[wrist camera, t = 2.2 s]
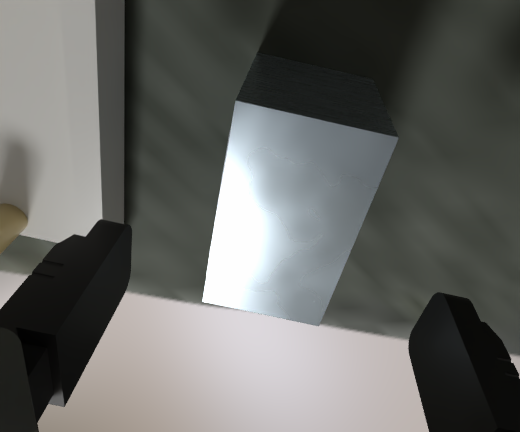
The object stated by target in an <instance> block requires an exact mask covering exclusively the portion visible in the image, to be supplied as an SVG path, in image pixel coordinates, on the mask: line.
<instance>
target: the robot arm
mask: <svg viewBox="0 0 520 432" xmlns="http://www.w3.org/2000/svg"><path fill="white" fill-rule="evenodd" d="M131 246H132V229H131V226H130V225H126V224H122V223H117V222H112V221H108V220H103V219H100V220H99V221H97V223H96V224H95V225H94V226H93V228H92V229H91V230H90V232H89V233H88V234H87V235H86V237H85V236H81V235H76V234H74V235H72V236H70V237H68V238H67V239H65V240H63V241H61V242H60V243H58V244H56V245H55V246H54V247H53V248H52V249H51V251H50V252H49V253H48V254H47V255H46V256H45V258H44V259H43V261H42V263H39V265H38V266H37V267H36V268H35V269H34V270H33V272H32V275H29V276H28V278H27V279H26V280H25V281H24V283H22V285H21V286H20V287H19V288H18V289H17V290H16V292H15V293H14V294H13V295H12V296H11V297H10V299H9V300H8V301H7V302H6V303H5V304H4V306H3V307H2V308H1V309H0V432H39V430H38V425H37V423H38V421H39V419H40V417H41V415H42V414H43V412H44V410H45V409H46V407H47V405H48V404H52V405H58V406H62V407H65V405H66V403H67V401H68V399H69V398H70V396H71V394H72V392H73V390H74V388H75V386H76V384H77V382H78V381H79V379H80V377H81V375H82V373H83V371H84V369H85V367H86V365H87V364H88V362H89V359H90V358H91V356H92V354H93V352H94V350H95V348H96V347H97V345H98V343H99V341H100V339H101V337H102V335H103V333H104V331H105V329H106V328H107V325H108V323H109V322H110V320H111V318H112V316H113V314H114V312H115V311H116V308H117V307H118V305H119V303H120V301H121V299H122V297H123V295H124V293H125V291H126V289H127V286H128V283H129V279H130V273H131ZM409 355H410V359H411V363H412V366H413V371H414V375H415V379H416V383H417V386H418V390H419V394H420V398H421V402H422V406H423V409H424V413H425V417H426V421H427V425H428V429H429V432H520V379H519V373H518V372H517V370H516V368H515V366H514V364H513V363H511V358H510V356H509V354H508V352H507V350H506V348H505V346H504V344H503V342H502V340H501V339H500V338H499V337H498V336H497V335H496V333H495V332H494V331H493V330H492V329H491V328H490V327H489V326H488V325H487V323H485V322H481V321H480V319H479V317H478V315H477V312H476V310H475V308H474V306H473V304H472V302H471V301H470V300H469V299H467V298H463V297H458V296H454V295H449V294H444V293H440V292H438V293H436V294H434V295H433V296H432V298H431V300H430V301H429V303H428V305H427V306H426V308H425V310H424V311H423V313H422V315H421V316H420V318H419V320H418V321H417V323H416V325H415V326H414V328H413V330H412V332H411V334H410V338H409Z"/></svg>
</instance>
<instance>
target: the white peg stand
mask: <svg viewBox="0 0 520 432" xmlns="http://www.w3.org/2000/svg"><path fill="white" fill-rule="evenodd" d="M124 42H125V0H0V254H1V253H2V252H3V251H4V250H5V249H6V248H7V247H8V246H9V245H10V244H11V243H12V242H13V241H14V239H15V238H16V237H17V236H18V235H24V236H28V237H33V238H38V239H42V240H47V241H52V242H56V243H60V242H61V241H63V240H65V239H67V238H68V237H70V236H72V235H74V234H76V235H81V236H85V237H86V235H87V234H88V233H89V232H90V230H91V229H92V228H93V226H94V225H95V224H96V223H97V221H99V220H100V219H103V220H108V221H112V222H117V223H122V224H124Z"/></svg>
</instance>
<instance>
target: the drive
mask: <svg viewBox="0 0 520 432" xmlns="http://www.w3.org/2000/svg"><path fill="white" fill-rule="evenodd" d="M398 139H399V137H398V135H397V132H396V130H395V128H394V126H393V123H392V121H391V119H390V117H389V114H388V112H387V110H386V108H385V105H384V103H383V101H382V99H381V96H380V94H379V92H378V90H377V87H376V85H375V83H374V81H373V79H371V78H366V77H362V76H358V75H353V74H349V73H345V72H340V71H336V70H332V69H327V68H323V67H319V66H314V65H310V64H306V63H301V62H297V61H293V60H288V59H284V58H280V57H275V56H271V55H267V54H263V53H258V52H257V54H256V56H255V59H254V61H253V63H252V65H251V68H250V70H249V72H248V74H247V76H246V79H245V81H244V83H243V85H242V87H241V90H240V92H239V94H238V96H237V99H236V101H235V107H234V113H233V119H232V125H231V129H230V132H229V138H228V144H227V151H226V157H225V163H224V169H223V175H222V181H221V187H220V193H219V200H218V206H217V212H216V218H215V224H214V230H213V236H212V243H211V249H210V255H209V261H208V267H207V273H206V276H207V277H206V283H205V289H204V296H203V302H207V303H212V304H217V305H222V306H226V307H231V308H236V309H240V310H245V311H250V312H254V313H259V314H264V315H268V316H273V317H278V318H283V319H287V320H292V321H297V322H301V323H306V324H311V325H315V326H319V325H320V322H321V320H322V317H323V315H324V313H325V310H326V308H327V306H328V303H329V301H330V299H331V296H332V294H333V292H334V289H335V287H336V285H337V282H338V280H339V277H340V275H341V273H342V270H343V268H344V266H345V263H346V261H347V259H348V256H349V254H350V252H351V249H352V247H353V244H354V242H355V240H356V237H357V235H358V233H359V230H360V228H361V226H362V223H363V221H364V219H365V216H366V214H367V212H368V209H369V207H370V204H371V202H372V200H373V197H374V195H375V193H376V190H377V188H378V186H379V183H380V181H381V179H382V176H383V174H384V172H385V169H386V167H387V164H388V162H389V160H390V157H391V155H392V153H393V150H394V148H395V146H396V143H397V141H398Z"/></svg>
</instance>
